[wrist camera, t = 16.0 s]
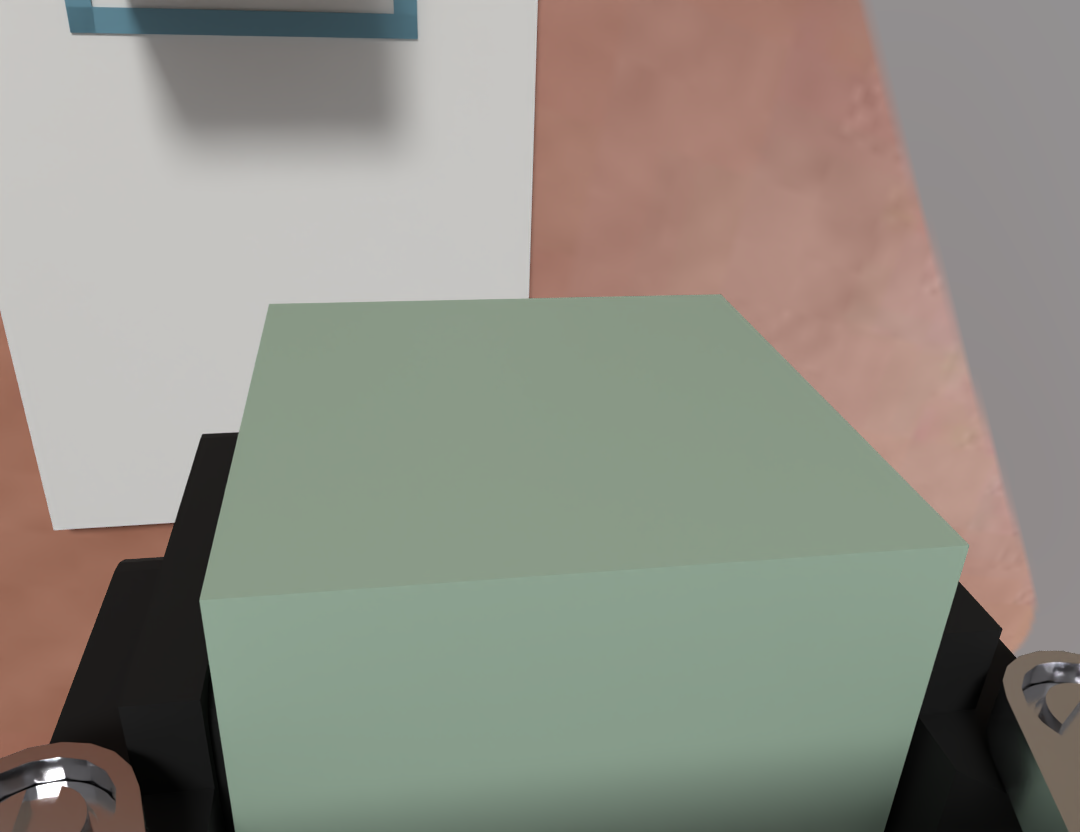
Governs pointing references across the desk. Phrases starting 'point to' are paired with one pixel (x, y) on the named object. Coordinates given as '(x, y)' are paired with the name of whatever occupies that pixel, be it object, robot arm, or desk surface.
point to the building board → (236, 204)
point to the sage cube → (561, 578)
